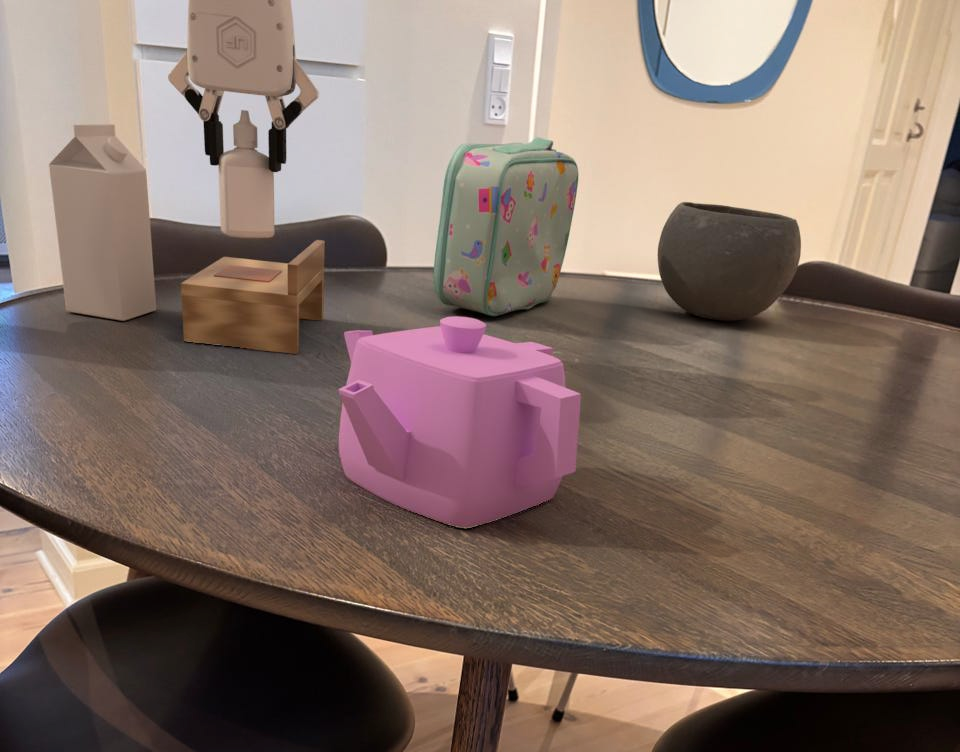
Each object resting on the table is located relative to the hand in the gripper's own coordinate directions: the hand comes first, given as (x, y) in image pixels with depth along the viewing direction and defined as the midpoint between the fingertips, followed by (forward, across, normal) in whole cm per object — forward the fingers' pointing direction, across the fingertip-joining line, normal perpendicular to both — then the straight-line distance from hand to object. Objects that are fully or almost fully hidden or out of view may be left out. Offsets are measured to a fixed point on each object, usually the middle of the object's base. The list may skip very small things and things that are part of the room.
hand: (246, 165), depth 99 cm
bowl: (+17, +62, +38) cm, 75 cm away
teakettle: (+17, +24, -43) cm, 52 cm away
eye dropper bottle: (+7, 0, 0) cm, 7 cm away
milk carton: (+17, -16, +1) cm, 23 cm away
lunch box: (+17, +29, +29) cm, 44 cm away
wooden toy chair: (+17, +1, 0) cm, 17 cm away
